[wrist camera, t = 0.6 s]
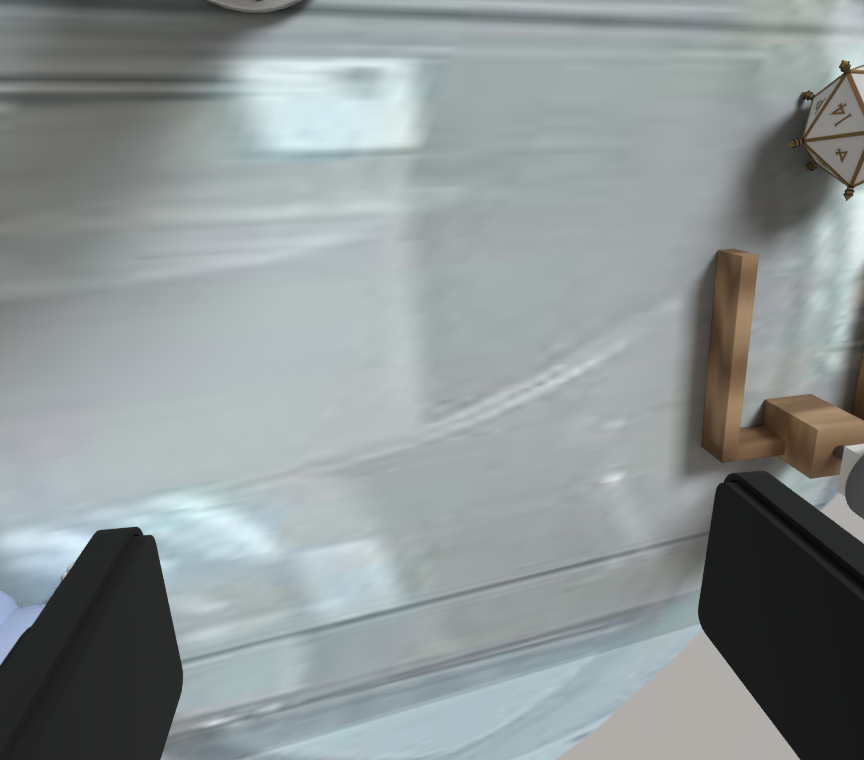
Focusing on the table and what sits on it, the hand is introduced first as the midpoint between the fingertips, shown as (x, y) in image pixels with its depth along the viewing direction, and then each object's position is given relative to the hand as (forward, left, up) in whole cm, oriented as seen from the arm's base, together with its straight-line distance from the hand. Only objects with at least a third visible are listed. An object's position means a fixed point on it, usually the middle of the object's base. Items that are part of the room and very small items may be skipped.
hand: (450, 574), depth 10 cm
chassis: (+10, +32, -34) cm, 48 cm away
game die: (-6, +32, -35) cm, 48 cm away
